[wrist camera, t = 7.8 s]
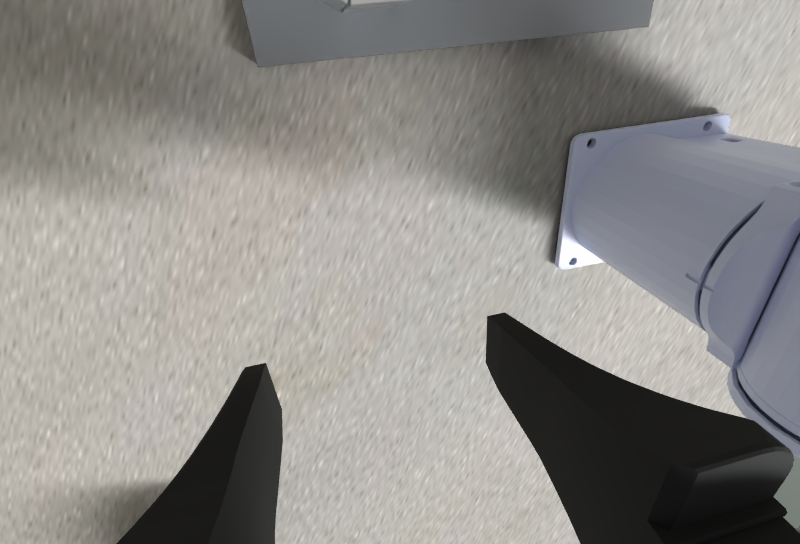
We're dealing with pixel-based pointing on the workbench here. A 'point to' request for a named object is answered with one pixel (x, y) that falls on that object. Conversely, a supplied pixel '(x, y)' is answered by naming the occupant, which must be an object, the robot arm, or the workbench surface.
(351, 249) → the workbench surface
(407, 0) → the socket collar
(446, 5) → the flange plate
